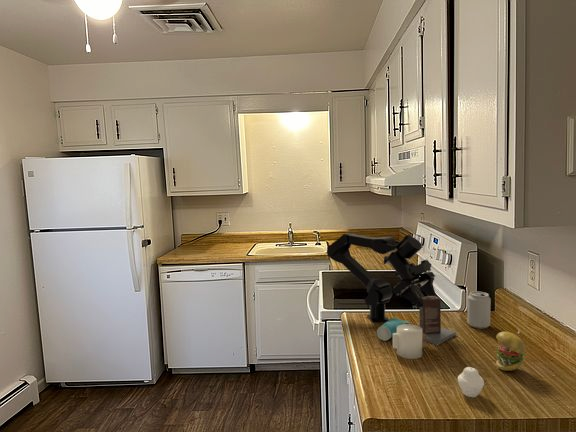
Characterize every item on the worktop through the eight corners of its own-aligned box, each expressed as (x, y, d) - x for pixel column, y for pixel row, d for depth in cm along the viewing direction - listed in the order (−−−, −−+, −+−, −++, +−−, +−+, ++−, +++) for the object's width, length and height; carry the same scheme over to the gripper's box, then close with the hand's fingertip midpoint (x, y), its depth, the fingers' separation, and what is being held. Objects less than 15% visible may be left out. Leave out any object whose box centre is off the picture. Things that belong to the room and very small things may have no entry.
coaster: (405, 334, 142) (405, 331, 142) (424, 325, 150) (424, 322, 150) (437, 345, 133) (437, 341, 133) (455, 335, 141) (455, 331, 141)
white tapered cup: (415, 347, 132) (415, 323, 131) (426, 357, 125) (426, 332, 124) (388, 349, 131) (388, 325, 130) (398, 360, 123) (398, 334, 123)
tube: (374, 323, 139) (391, 311, 155) (372, 336, 139) (389, 323, 156) (396, 330, 135) (411, 317, 151) (393, 344, 135) (408, 330, 152)
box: (435, 328, 144) (435, 295, 143) (441, 333, 140) (441, 298, 139) (418, 329, 144) (418, 295, 142) (423, 334, 139) (424, 299, 138)
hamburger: (493, 361, 121) (494, 322, 120) (521, 365, 118) (522, 324, 117) (497, 373, 114) (498, 331, 113) (526, 377, 111) (528, 334, 110)
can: (493, 329, 145) (494, 296, 144) (472, 329, 146) (473, 296, 144) (484, 321, 153) (485, 290, 152) (463, 322, 153) (464, 290, 152)
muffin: (467, 402, 100) (468, 374, 99) (452, 389, 106) (452, 363, 105) (489, 398, 102) (490, 371, 101) (472, 386, 108) (473, 360, 107)
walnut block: (408, 344, 135) (408, 332, 134) (418, 342, 136) (418, 330, 136) (416, 349, 131) (416, 337, 130) (426, 347, 132) (426, 335, 132)
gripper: (400, 257, 137) (430, 296, 130) (430, 249, 149) (459, 285, 142) (381, 276, 144) (408, 314, 137) (411, 267, 156) (437, 302, 149)
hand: (429, 303), depth 141 cm, fingers open, 9 cm apart
